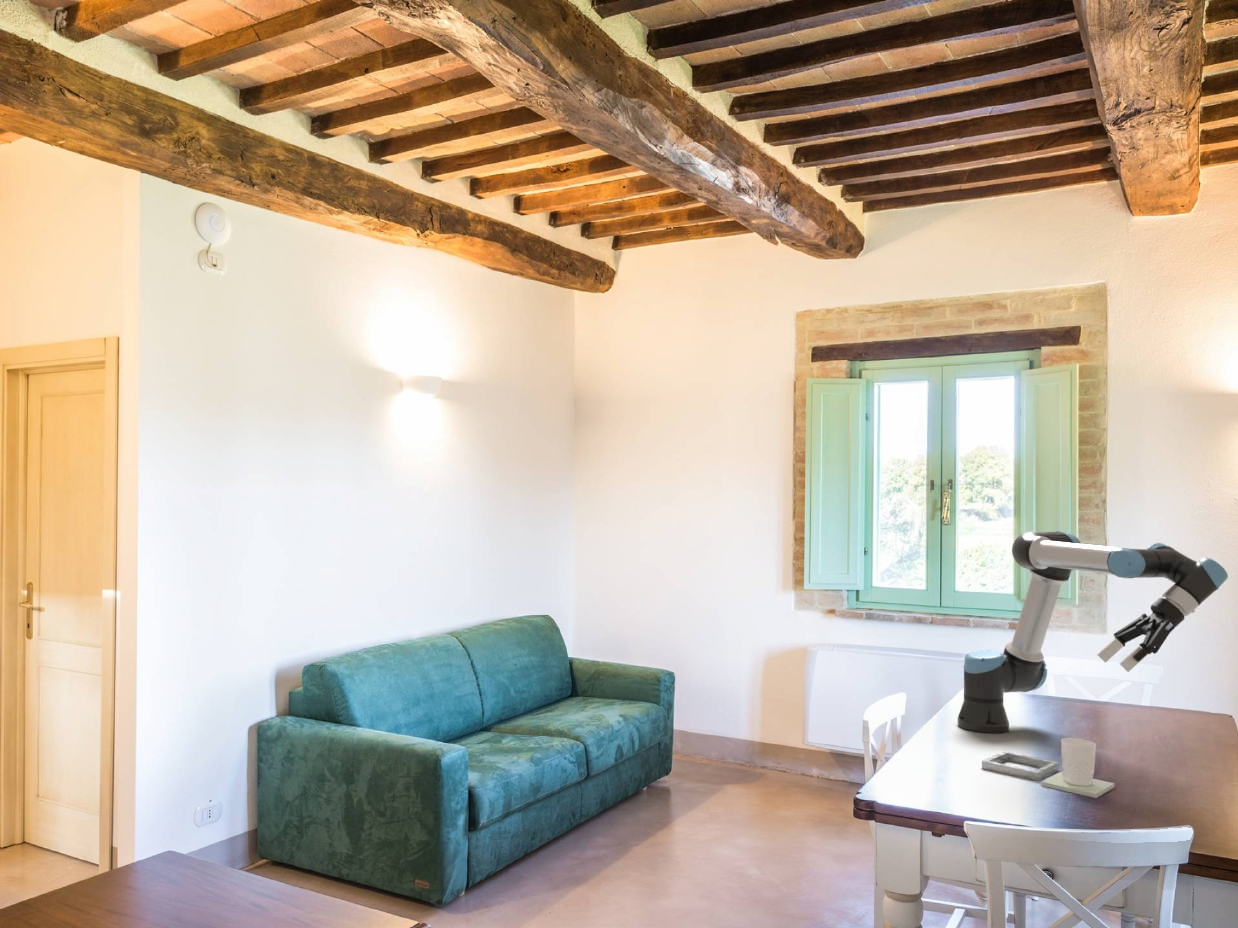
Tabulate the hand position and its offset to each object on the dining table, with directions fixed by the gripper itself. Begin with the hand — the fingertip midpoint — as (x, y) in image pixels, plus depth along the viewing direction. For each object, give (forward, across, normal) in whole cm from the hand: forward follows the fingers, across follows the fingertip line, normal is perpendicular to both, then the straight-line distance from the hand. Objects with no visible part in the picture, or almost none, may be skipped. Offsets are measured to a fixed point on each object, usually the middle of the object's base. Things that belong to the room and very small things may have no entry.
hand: (1112, 663), depth 247 cm
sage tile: (+29, -9, -13) cm, 33 cm away
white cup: (+29, -9, -12) cm, 32 cm away
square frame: (+36, +4, -6) cm, 37 cm away
